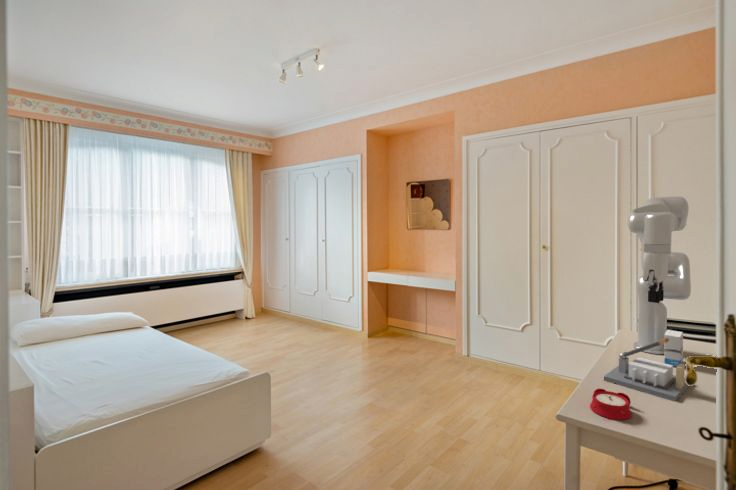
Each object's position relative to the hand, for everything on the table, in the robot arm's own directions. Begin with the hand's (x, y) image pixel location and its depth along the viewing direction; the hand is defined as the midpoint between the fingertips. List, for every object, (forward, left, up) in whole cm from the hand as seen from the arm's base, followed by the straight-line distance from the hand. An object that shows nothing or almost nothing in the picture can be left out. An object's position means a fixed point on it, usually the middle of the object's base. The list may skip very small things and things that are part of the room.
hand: (655, 300), depth 132 cm
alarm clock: (+35, -1, -28) cm, 45 cm away
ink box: (-19, +1, -28) cm, 33 cm away
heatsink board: (+7, 0, -27) cm, 28 cm away
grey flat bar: (+7, -1, -16) cm, 18 cm away
